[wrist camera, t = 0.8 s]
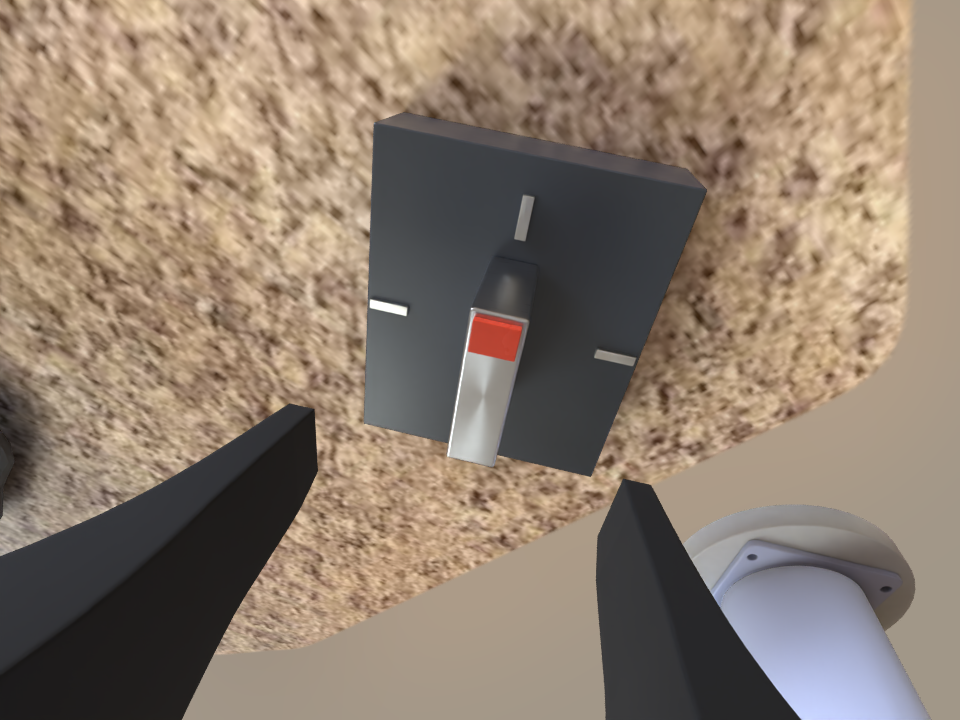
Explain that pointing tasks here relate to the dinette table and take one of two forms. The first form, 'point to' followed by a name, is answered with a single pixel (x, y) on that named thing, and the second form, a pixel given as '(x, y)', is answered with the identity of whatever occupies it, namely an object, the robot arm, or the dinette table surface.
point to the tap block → (525, 238)
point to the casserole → (4, 465)
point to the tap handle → (491, 359)
